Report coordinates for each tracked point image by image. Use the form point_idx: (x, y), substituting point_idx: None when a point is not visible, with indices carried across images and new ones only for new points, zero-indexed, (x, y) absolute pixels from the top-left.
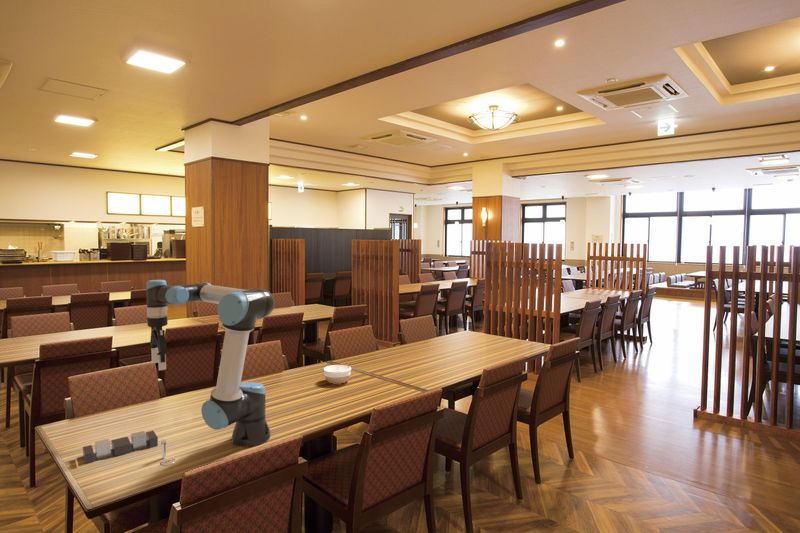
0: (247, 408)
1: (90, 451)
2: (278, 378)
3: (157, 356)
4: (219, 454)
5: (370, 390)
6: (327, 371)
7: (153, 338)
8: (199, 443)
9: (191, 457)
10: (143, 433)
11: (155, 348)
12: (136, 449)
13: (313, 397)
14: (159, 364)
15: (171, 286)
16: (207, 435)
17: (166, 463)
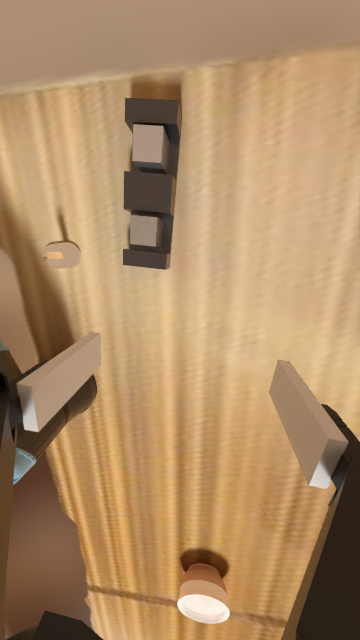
0: None
1: (135, 114)
2: (306, 548)
3: (284, 413)
4: (40, 327)
5: (133, 565)
6: (200, 594)
7: (294, 631)
8: (99, 323)
9: (53, 291)
10: (138, 241)
11: (315, 462)
12: None
13: (165, 518)
14: (71, 349)
15: None
16: (124, 346)
17: (47, 250)
